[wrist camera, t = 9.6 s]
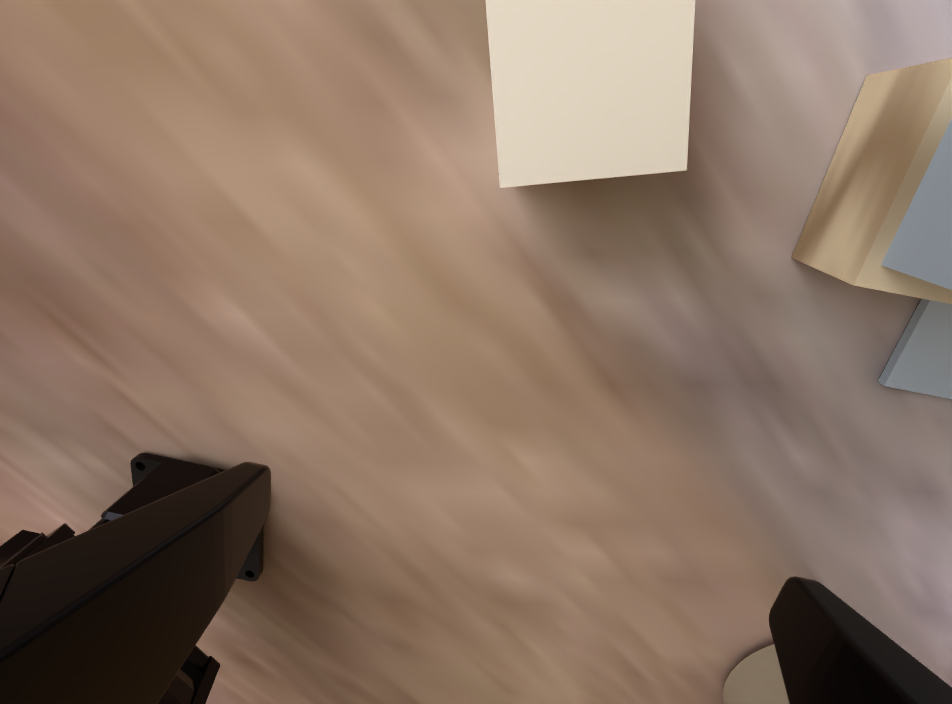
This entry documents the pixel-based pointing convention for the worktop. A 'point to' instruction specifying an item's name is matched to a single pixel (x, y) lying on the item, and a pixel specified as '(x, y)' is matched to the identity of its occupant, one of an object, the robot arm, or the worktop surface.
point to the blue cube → (928, 224)
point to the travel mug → (756, 680)
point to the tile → (923, 353)
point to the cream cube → (590, 87)
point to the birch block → (879, 179)
